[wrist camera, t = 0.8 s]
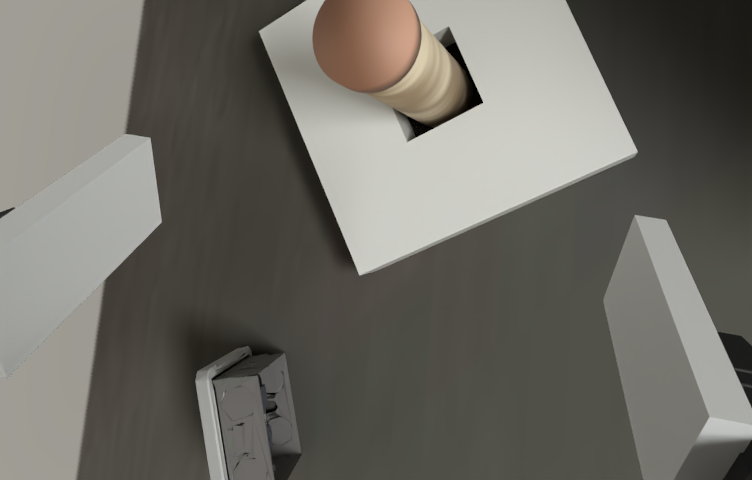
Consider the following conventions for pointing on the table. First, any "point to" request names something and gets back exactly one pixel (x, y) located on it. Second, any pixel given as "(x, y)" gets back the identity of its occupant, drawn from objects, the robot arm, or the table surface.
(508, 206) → the socket block
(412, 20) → the plug
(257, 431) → the electrical switch
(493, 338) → the table surface
